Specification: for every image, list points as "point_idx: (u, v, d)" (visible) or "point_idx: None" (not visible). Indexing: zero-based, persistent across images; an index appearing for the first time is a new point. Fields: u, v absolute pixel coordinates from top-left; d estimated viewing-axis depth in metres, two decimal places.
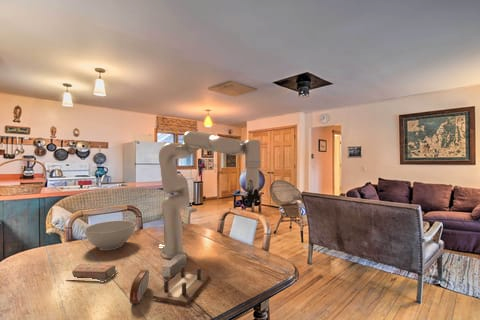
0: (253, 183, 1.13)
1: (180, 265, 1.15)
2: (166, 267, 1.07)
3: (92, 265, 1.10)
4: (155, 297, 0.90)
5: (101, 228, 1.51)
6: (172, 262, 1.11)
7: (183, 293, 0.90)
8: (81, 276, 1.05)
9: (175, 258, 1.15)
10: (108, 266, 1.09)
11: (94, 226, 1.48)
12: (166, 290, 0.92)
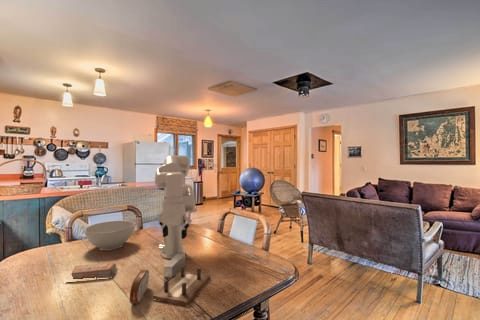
0: None
1: (180, 264, 1.15)
2: (168, 268, 1.07)
3: (91, 265, 1.10)
4: (155, 297, 0.90)
5: (101, 228, 1.51)
6: (172, 262, 1.11)
7: (183, 293, 0.90)
8: (83, 277, 1.05)
9: (175, 258, 1.15)
10: (109, 264, 1.11)
11: (94, 226, 1.48)
12: (166, 290, 0.92)
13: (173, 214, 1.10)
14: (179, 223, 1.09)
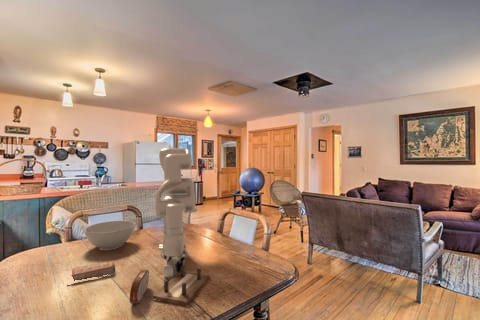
0: (185, 248, 1.13)
1: None
2: (169, 267, 1.06)
3: (89, 265, 1.09)
4: (155, 297, 0.90)
5: (101, 228, 1.51)
6: (172, 261, 1.11)
7: (183, 293, 0.90)
8: (85, 277, 1.04)
9: (174, 258, 1.15)
10: (109, 262, 1.13)
11: (94, 226, 1.48)
12: (166, 290, 0.92)
13: (174, 246, 1.10)
14: (179, 254, 1.10)
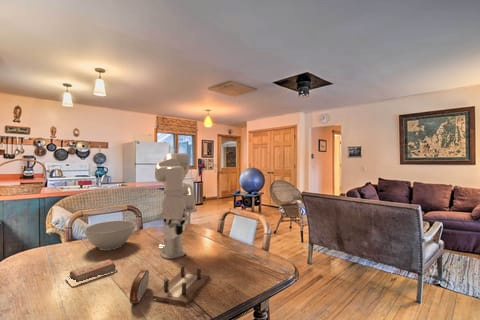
0: (185, 211, 1.12)
1: None
2: (168, 229, 1.06)
3: (88, 266, 1.09)
4: (155, 297, 0.90)
5: (101, 228, 1.51)
6: (172, 224, 1.10)
7: (183, 293, 0.90)
8: (88, 277, 1.05)
9: (174, 222, 1.14)
10: (107, 261, 1.15)
11: (94, 226, 1.48)
12: (166, 290, 0.92)
13: (173, 208, 1.09)
14: (179, 217, 1.09)
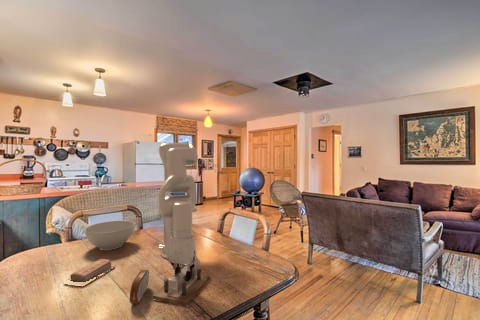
0: (195, 253, 0.97)
1: None
2: (173, 282, 0.91)
3: (87, 267, 1.08)
4: (155, 297, 0.90)
5: (101, 228, 1.51)
6: (179, 274, 0.95)
7: (183, 293, 0.90)
8: (93, 276, 1.06)
9: (183, 270, 0.99)
10: (101, 260, 1.16)
11: (94, 226, 1.48)
12: (166, 290, 0.92)
13: (182, 251, 0.94)
14: (189, 262, 0.94)
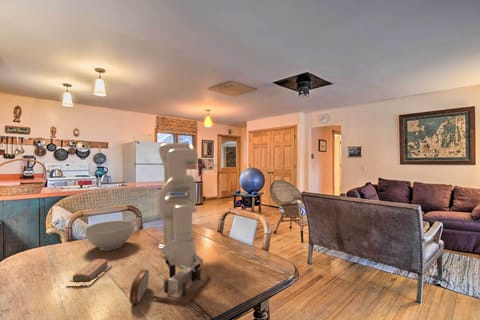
0: None
1: (190, 277, 0.99)
2: (173, 282, 0.91)
3: (87, 267, 1.08)
4: (155, 297, 0.90)
5: (101, 228, 1.51)
6: (179, 274, 0.95)
7: (183, 293, 0.90)
8: (96, 275, 1.06)
9: (183, 270, 0.99)
10: (97, 260, 1.15)
11: (94, 226, 1.48)
12: (166, 290, 0.92)
13: (182, 254, 0.94)
14: (189, 264, 0.94)
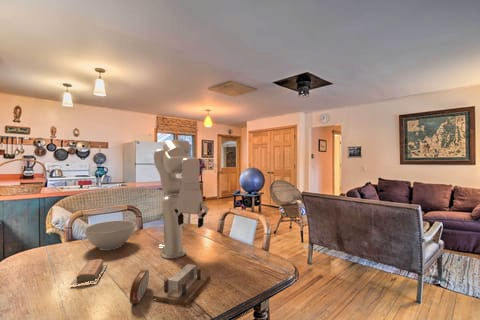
0: None
1: (190, 277, 0.99)
2: (173, 282, 0.91)
3: (86, 267, 1.07)
4: (155, 297, 0.90)
5: (101, 228, 1.51)
6: (179, 274, 0.95)
7: (183, 293, 0.90)
8: (98, 274, 1.07)
9: (183, 270, 0.99)
10: (92, 261, 1.15)
11: (94, 226, 1.48)
12: (166, 290, 0.92)
13: (190, 202, 1.03)
14: (196, 211, 1.02)
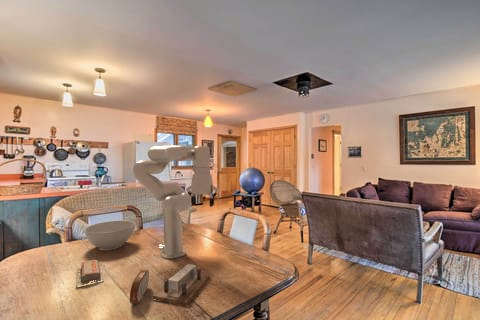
0: None
1: (190, 277, 0.99)
2: (173, 282, 0.91)
3: (87, 268, 1.07)
4: (155, 297, 0.90)
5: (101, 228, 1.51)
6: (179, 274, 0.95)
7: (183, 293, 0.90)
8: None
9: (183, 270, 0.99)
10: (87, 262, 1.14)
11: (94, 226, 1.48)
12: (166, 290, 0.92)
13: (202, 184, 1.18)
14: (208, 192, 1.17)
